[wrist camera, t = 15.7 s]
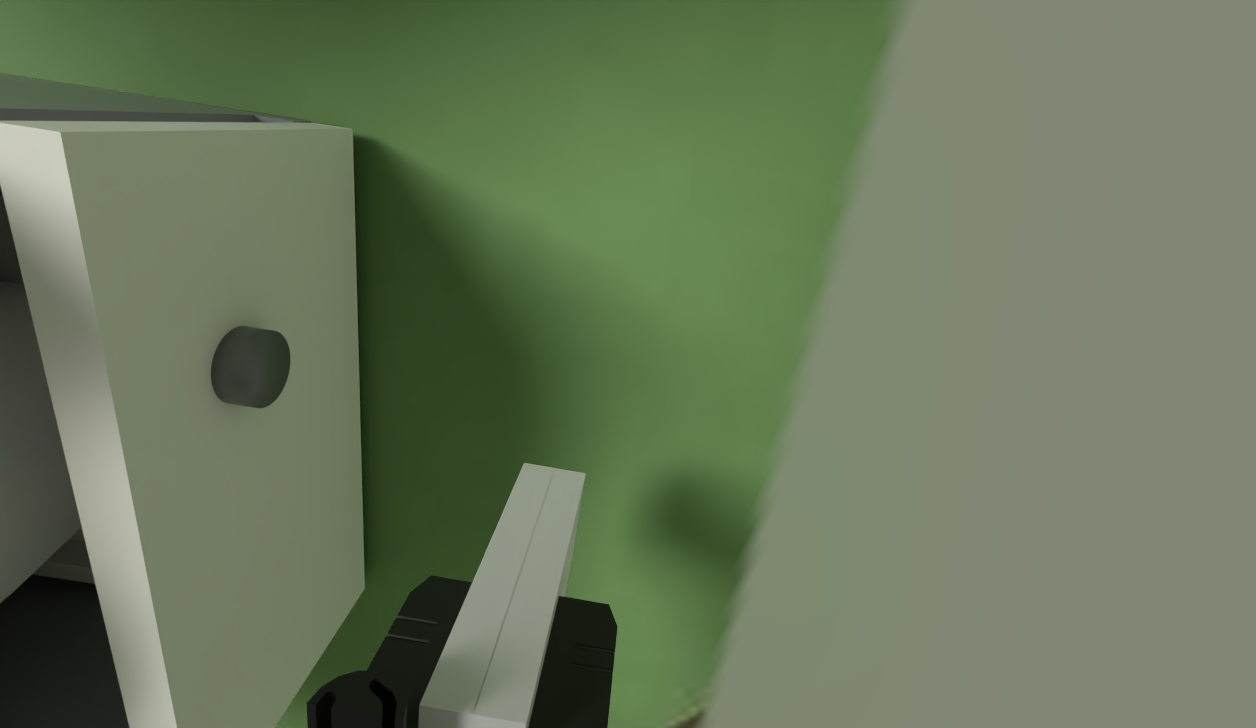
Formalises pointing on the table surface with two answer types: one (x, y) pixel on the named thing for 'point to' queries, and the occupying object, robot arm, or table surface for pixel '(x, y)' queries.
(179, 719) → the white drawer
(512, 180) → the table surface
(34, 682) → the housing
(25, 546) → the cup
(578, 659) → the robot arm
